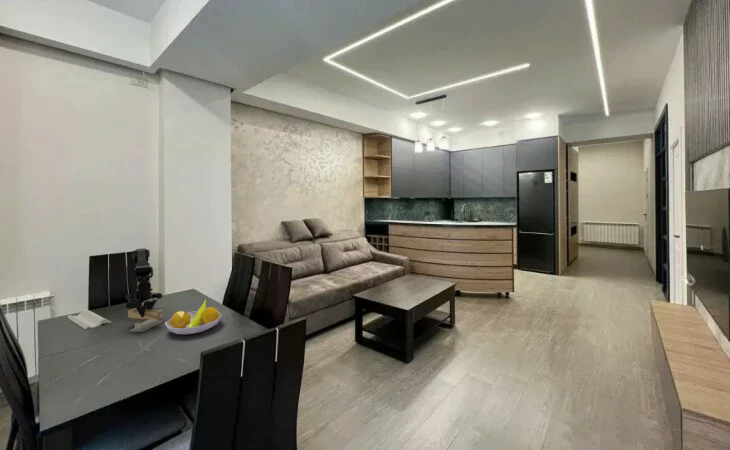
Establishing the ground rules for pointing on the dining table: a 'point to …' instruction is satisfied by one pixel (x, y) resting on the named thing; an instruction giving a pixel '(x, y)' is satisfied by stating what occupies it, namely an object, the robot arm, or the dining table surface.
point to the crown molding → (88, 319)
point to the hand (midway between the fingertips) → (145, 315)
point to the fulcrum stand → (144, 325)
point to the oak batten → (146, 314)
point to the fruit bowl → (193, 320)
